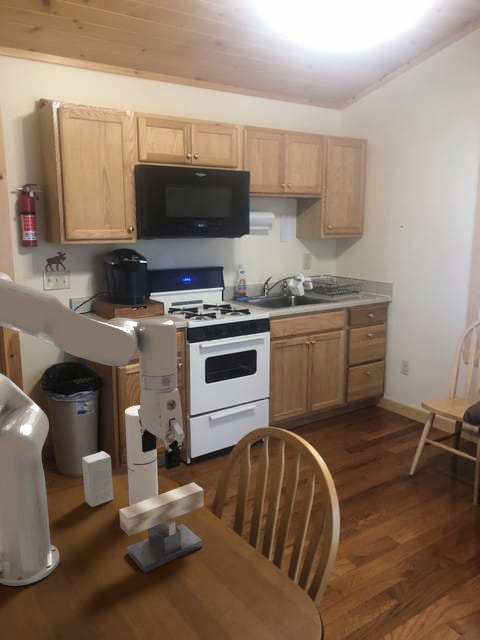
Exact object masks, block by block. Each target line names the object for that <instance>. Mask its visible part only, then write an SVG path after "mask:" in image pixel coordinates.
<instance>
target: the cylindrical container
mask: <svg viewBox="0 0 480 640" xmlns="http://www.w3.org/2000/svg"><path fill="white" fill-rule="evenodd" d="M138 409H140V404H139V405H137V404H136V405H133V406H130V407H127V408H126V409H125V411H124V418H125V419H124V420H125V422H124V424H125V440H126V441H125V442H126V460H127V461H126V462H127V476H128V477H127V480H128V500H129V501H128V502H129V506H131V505H133V504H136V503H139V502H141V501H144V500H147V499H150V498H152V497H155V496H158V495H159V483H158V482H159V481H158V479H159V478H158V459H157V457H158V456H157V454H158V453H157V451H158V450H157V448H156V449H155V450H152V451H148V452H145V453H144V452H143V451H142V433H141V431H140V429H141V425H140V423H139V415H138Z"/></svg>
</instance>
